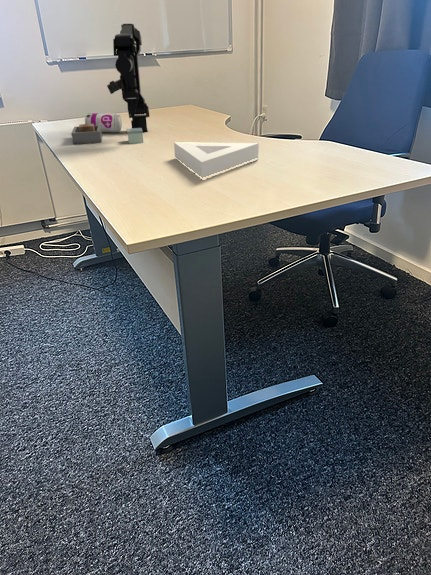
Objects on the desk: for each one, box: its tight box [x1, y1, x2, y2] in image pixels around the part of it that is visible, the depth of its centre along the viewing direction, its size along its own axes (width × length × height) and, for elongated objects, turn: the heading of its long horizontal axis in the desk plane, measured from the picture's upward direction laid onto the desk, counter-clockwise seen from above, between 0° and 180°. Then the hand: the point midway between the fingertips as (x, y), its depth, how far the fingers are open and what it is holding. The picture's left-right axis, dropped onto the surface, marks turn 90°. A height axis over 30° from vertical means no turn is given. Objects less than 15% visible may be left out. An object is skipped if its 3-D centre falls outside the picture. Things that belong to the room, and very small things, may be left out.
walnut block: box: [77, 123, 95, 132], centre depth 185 cm, size 6×6×5 cm
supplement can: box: [84, 112, 123, 134], centre depth 198 cm, size 8×8×15 cm
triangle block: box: [173, 141, 260, 178], centre depth 146 cm, size 30×26×6 cm
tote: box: [71, 125, 103, 145], centre depth 185 cm, size 11×15×4 cm
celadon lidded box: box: [126, 127, 144, 145], centre depth 180 cm, size 6×6×5 cm
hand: (132, 114), depth 176 cm, fingers open, 9 cm apart
